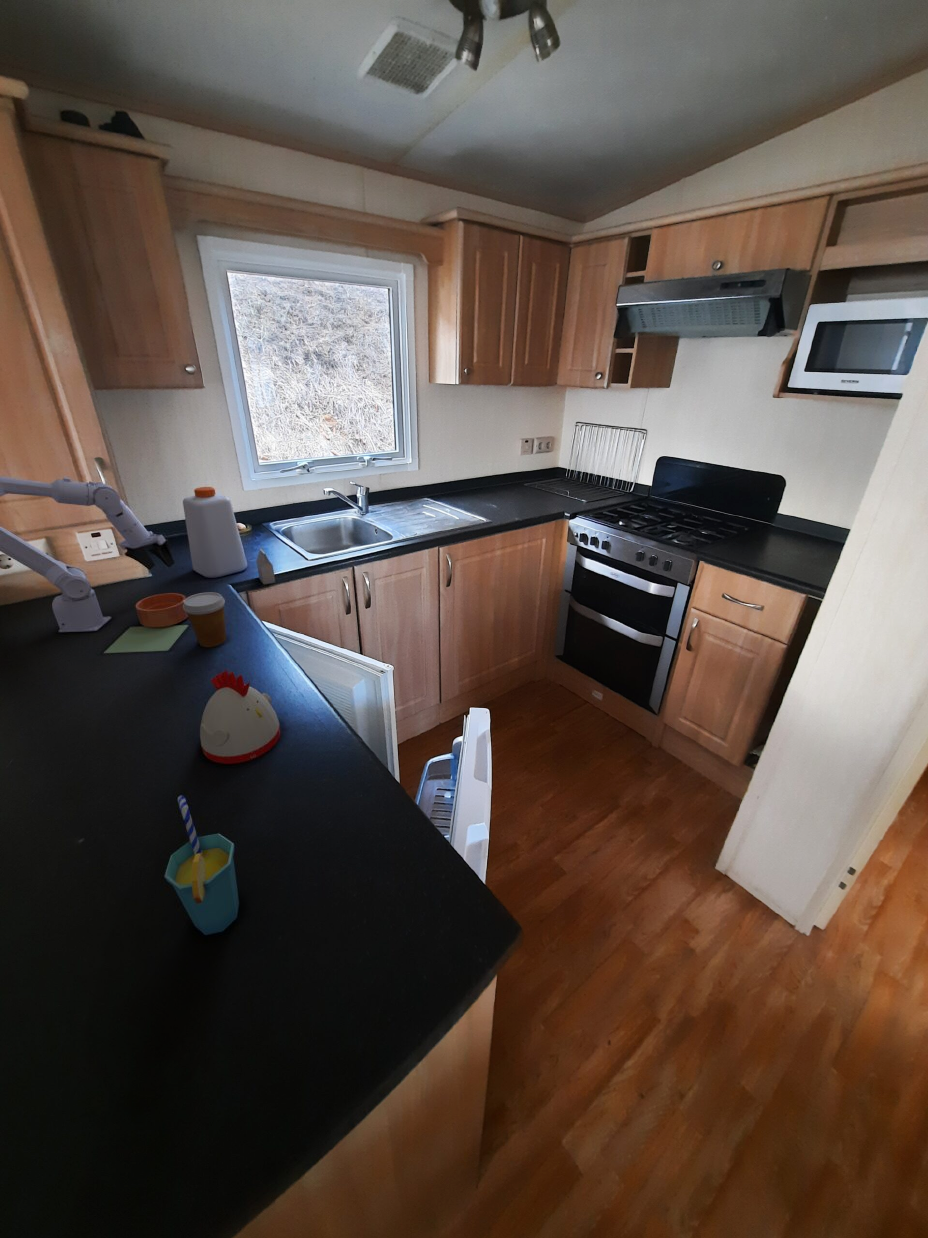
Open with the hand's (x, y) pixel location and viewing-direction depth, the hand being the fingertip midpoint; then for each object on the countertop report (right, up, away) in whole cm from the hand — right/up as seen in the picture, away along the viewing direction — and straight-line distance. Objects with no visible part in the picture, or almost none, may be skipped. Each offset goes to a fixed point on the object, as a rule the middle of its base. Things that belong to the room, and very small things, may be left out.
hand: (161, 566), depth 144 cm
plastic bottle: (+1, +2, +32) cm, 32 cm away
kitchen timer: (+44, -38, -47) cm, 75 cm away
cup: (+54, -53, -78) cm, 108 cm away
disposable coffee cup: (+21, -21, -13) cm, 33 cm away
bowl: (+3, -15, -3) cm, 16 cm away
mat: (+4, -20, -13) cm, 24 cm away
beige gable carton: (+21, -2, +24) cm, 32 cm away
